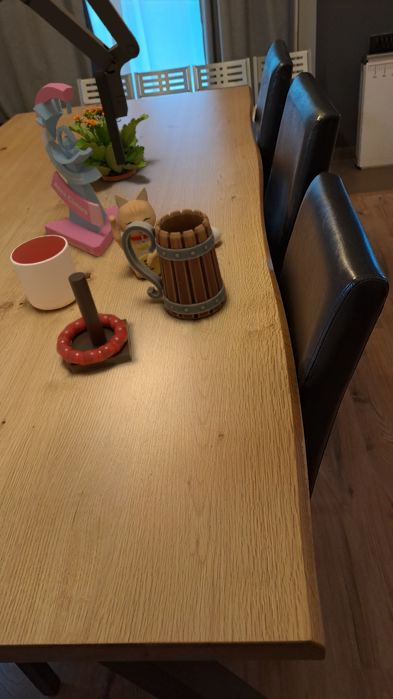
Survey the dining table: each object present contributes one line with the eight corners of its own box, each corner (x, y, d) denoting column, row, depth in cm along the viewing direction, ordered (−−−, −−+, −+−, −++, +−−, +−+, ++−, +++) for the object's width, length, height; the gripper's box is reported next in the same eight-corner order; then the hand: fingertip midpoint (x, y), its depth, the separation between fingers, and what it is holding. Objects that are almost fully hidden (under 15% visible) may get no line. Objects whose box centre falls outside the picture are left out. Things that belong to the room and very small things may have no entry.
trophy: (45, 233, 113) (-9, 90, 93) (102, 203, 121) (63, 65, 101) (97, 257, 101) (48, 98, 81) (157, 222, 109) (125, 70, 89)
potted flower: (180, 171, 129) (168, 99, 118) (100, 204, 121) (78, 129, 109) (134, 151, 146) (119, 86, 135) (60, 179, 137) (38, 112, 126)
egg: (192, 243, 100) (189, 226, 97) (221, 237, 100) (219, 220, 97) (195, 252, 97) (192, 235, 94) (225, 246, 97) (223, 229, 94)
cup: (53, 278, 97) (35, 232, 91) (94, 285, 93) (78, 237, 86) (19, 308, 91) (-3, 261, 84) (62, 317, 87) (42, 268, 80)
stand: (128, 325, 82) (107, 254, 73) (131, 360, 75) (108, 286, 66) (74, 337, 82) (46, 267, 73) (73, 373, 75) (42, 301, 66)
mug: (231, 284, 87) (222, 203, 77) (220, 322, 79) (208, 238, 69) (147, 283, 91) (128, 207, 81) (129, 319, 83) (105, 239, 73)
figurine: (128, 288, 90) (107, 211, 81) (120, 263, 98) (100, 190, 88) (173, 275, 91) (157, 199, 82) (162, 251, 99) (146, 178, 89)
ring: (126, 314, 82) (123, 305, 80) (130, 357, 73) (127, 347, 72) (60, 329, 81) (56, 319, 80) (57, 373, 73) (53, 364, 72)
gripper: (123, -217, 31) (180, 132, 45) (-274, -141, 31) (-93, 189, 44) (129, -253, 25) (193, 160, 39) (-359, -160, 25) (-121, 226, 39)
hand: (41, 176), depth 42 cm, fingers open, 13 cm apart
